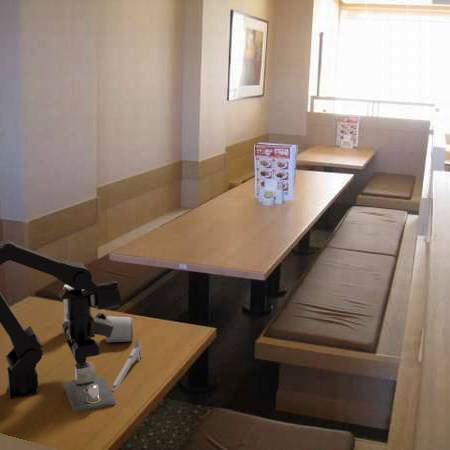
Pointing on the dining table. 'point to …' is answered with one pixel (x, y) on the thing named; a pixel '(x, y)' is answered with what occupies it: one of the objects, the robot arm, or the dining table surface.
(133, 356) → the caliper
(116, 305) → the robot arm
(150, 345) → the dining table surface
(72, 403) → the plate
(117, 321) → the ceramic mug
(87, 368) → the block
